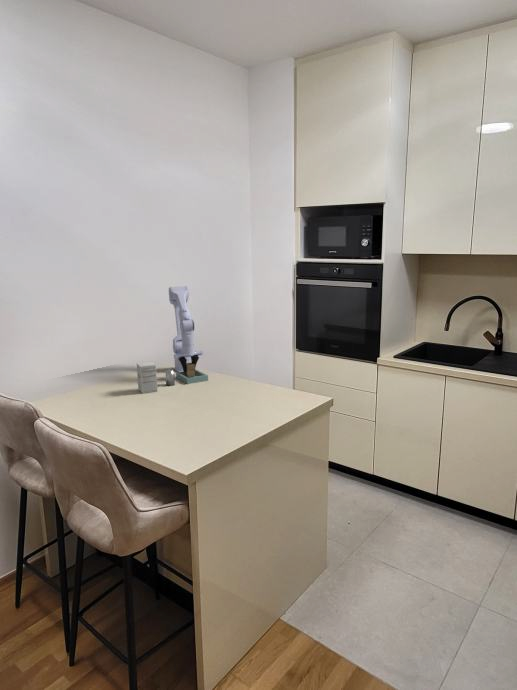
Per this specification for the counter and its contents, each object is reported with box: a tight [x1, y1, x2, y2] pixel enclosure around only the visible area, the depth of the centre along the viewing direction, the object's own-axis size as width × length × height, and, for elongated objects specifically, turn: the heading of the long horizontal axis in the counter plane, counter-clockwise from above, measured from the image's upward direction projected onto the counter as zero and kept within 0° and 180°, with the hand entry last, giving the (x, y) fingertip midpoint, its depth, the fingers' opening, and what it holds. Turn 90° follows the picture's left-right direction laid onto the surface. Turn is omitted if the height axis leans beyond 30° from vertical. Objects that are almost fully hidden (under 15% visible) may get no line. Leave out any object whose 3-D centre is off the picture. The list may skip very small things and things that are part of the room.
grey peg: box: [164, 368, 176, 387], centre depth 224 cm, size 4×4×7 cm
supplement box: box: [136, 361, 158, 394], centre depth 215 cm, size 7×7×13 cm
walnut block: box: [184, 362, 196, 377], centre depth 235 cm, size 4×4×6 cm
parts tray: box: [175, 368, 209, 385], centre depth 233 cm, size 14×11×3 cm
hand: (189, 371), depth 236 cm, fingers closed on walnut block, 4 cm apart
